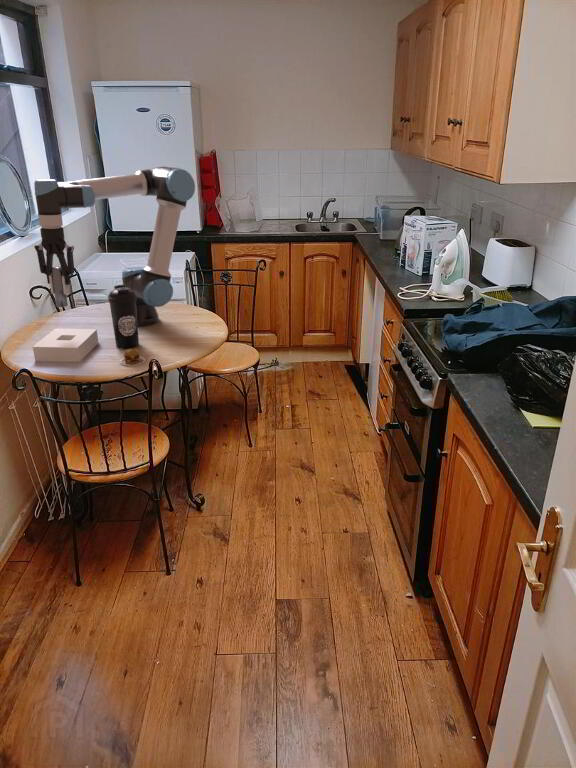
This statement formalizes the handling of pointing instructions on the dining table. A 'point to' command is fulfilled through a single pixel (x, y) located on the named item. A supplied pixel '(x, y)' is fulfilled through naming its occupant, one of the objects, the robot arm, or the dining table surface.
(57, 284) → the steel pin
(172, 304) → the dining table surface
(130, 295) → the water bottle
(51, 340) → the socket block
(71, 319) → the dining table surface
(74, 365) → the dining table surface
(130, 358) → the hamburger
